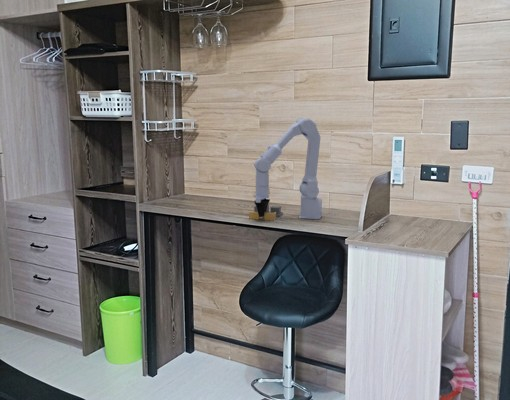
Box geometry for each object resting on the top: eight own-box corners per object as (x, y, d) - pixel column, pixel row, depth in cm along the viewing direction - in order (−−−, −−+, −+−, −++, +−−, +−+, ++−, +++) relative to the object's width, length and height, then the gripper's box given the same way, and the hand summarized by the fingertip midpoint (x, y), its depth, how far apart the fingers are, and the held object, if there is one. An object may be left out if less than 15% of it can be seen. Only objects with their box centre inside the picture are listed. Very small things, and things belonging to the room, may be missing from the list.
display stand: (256, 212, 243) (256, 202, 242) (283, 214, 239) (283, 203, 239) (251, 215, 236) (251, 205, 235) (279, 217, 233) (279, 206, 232)
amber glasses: (251, 217, 233) (251, 210, 232) (276, 218, 230) (276, 212, 229) (248, 218, 229) (248, 212, 228) (274, 220, 226) (274, 213, 225)
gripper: (257, 183, 234) (257, 212, 236) (248, 187, 220) (248, 218, 222) (272, 183, 232) (272, 213, 234) (264, 188, 218) (264, 219, 220)
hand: (262, 216), depth 228 cm, fingers closed on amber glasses, 2 cm apart
